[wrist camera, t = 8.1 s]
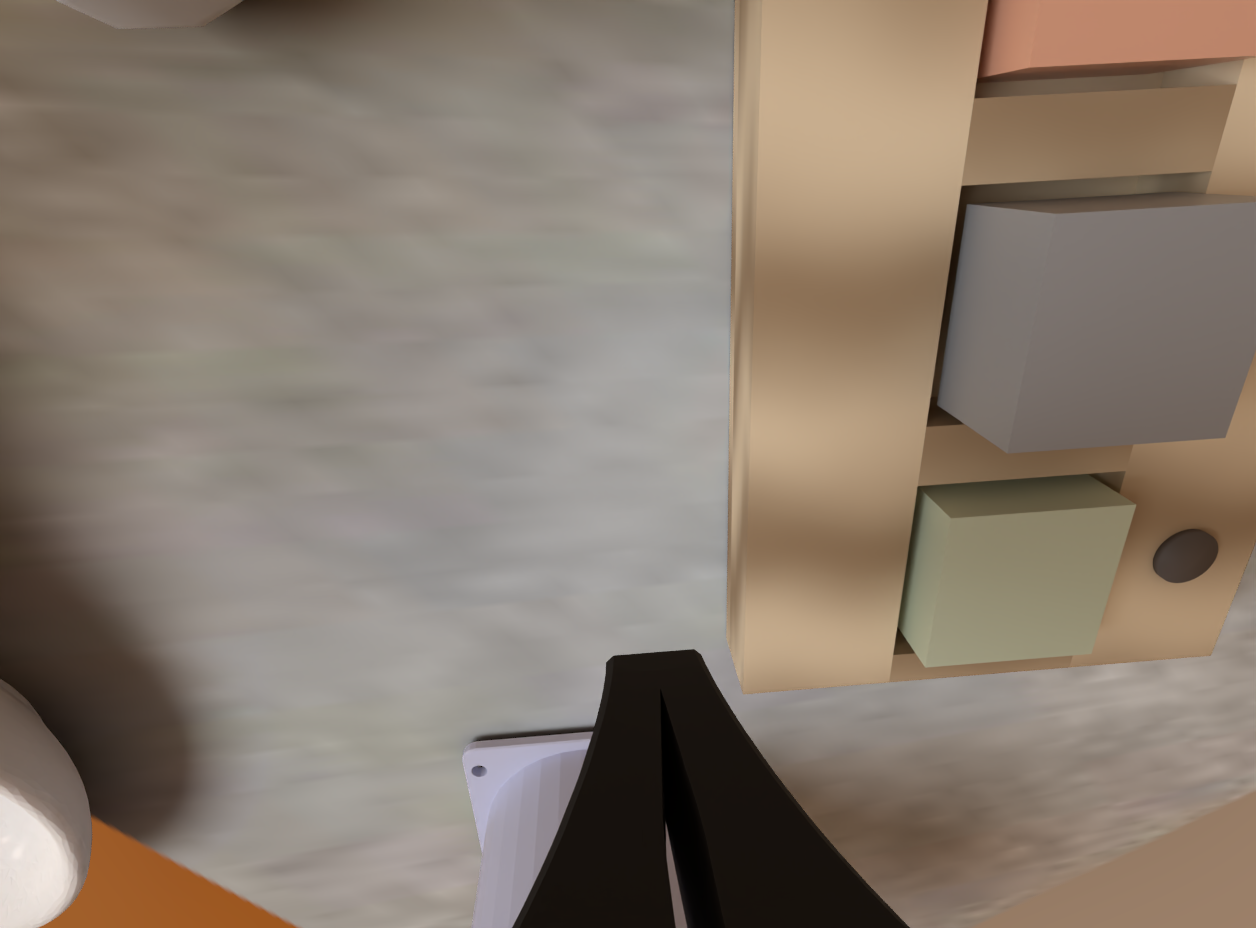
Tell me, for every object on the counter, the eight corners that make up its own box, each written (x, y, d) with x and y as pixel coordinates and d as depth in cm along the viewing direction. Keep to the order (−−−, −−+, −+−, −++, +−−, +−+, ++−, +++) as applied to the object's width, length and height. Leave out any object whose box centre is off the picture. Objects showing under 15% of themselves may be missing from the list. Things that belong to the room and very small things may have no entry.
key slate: (1118, 392, 16) (1225, 437, 14) (936, 404, 16) (1007, 453, 14) (1173, 192, 15) (1308, 199, 12) (967, 203, 14) (1056, 213, 12)
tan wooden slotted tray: (1146, 604, 22) (1216, 660, 20) (726, 638, 22) (744, 699, 19) (1441, -285, 13) (1638, -387, 11) (738, -261, 13) (775, -361, 10)
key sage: (1024, 589, 21) (1091, 653, 18) (880, 601, 21) (925, 667, 18) (1057, 455, 19) (1136, 504, 16) (897, 466, 19) (950, 518, 16)
